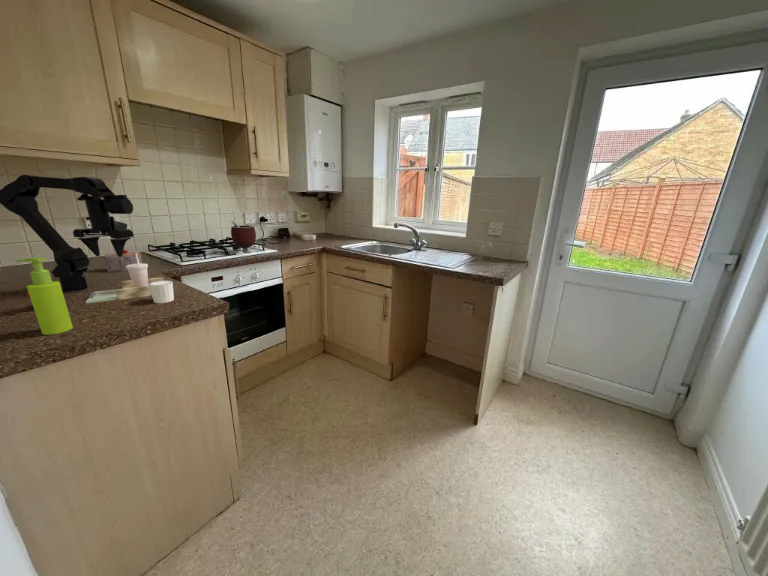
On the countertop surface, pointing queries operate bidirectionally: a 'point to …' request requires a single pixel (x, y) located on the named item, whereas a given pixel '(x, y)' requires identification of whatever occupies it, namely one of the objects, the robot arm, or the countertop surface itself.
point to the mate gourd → (243, 236)
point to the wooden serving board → (135, 289)
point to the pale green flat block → (102, 296)
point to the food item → (121, 260)
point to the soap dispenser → (47, 300)
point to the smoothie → (138, 273)
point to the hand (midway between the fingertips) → (109, 256)
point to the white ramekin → (162, 291)
